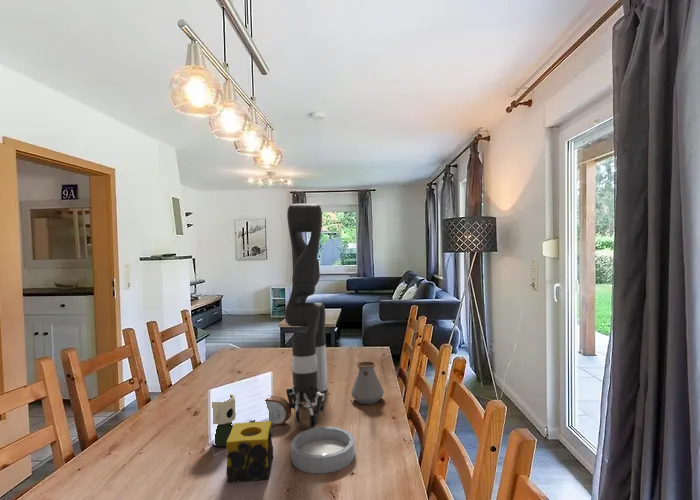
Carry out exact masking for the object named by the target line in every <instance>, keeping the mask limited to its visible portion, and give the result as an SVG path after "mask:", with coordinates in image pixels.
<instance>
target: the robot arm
mask: <svg viewBox="0 0 700 500" xmlns="http://www.w3.org/2000/svg"><path fill="white" fill-rule="evenodd" d="M286 215H287V224H288V231H289V238H290V242H291V243H290V244H291V251H292V255H291V256H292V288H291V292H290V297H289V300H288V302H287V305H286V309H285V312H284V320H285V322H286V324H287V325H288V326H289V327H300V328H307V329H306V331H304V332H302V333H301V332H300V333H297V334H295V335H293V337H292V339H291V346H292V347H291V349H292V350H291V351H292V359H291V365H292V366H291V369H292V371H291V372H292V385H293V386H291V387H289V388H287V389H286V391H285V393H286V397H287V401H288V403H289V404H290V408H291V409H293V410H294V411H295V420H296V423H297V424H298V425H299V407H300V406H303V405H307V407H308V408H309V410H310V414H311V415H310V426H311V427H315V428H316V427H317V425H318V423H319V422H318V421H319V419H318V415H319V414H321V413H322V412H323V411H324V409H325V403H326V398H327V394H326V393H323V392H325V391H327V390H328V370H327V346H326V345H327V342H326V341H327V340H326V308H325V305H324V303H323V302H307V299H308V297H310V296H313V295H314V294H315V292H316V286H317V284H318V283H319V281H320V278H321V277H320V276H321V274H320V261H319V259H318V254H319V247H320V243H321V242H320V241H321V236H322V235H321V234H322V225H323V212H322V208H321V205H320V204H317V203H292V204H290V205H289V206H288V209H287V213H286ZM301 233H310V238H309V240H308V242H307V243H306V241H305V240H304V239H303V236H302V234H301ZM313 408H314V409H313Z"/></svg>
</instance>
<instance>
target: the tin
mask: <svg viewBox="0 0 700 500" xmlns="http://www.w3.org/2000/svg"><path fill="white" fill-rule="evenodd" d="M270 396H271V397H270V398H267V399H266V400H265V401H266V404H267V408H268V410H269V421H271V422H272V424H274V425H273V426H282V425H284V424H285V423H287V422H288V420H289V419H291V416H292V408H290V404H289V400H288V399H285V398H284V397H282V396H277V395H270Z"/></svg>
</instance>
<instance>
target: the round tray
mask: <svg viewBox="0 0 700 500" xmlns="http://www.w3.org/2000/svg"><path fill="white" fill-rule="evenodd" d="M355 446H356V443H355V438H354V435H353V434H352V433H351V432H349V431H348V430H347V429H344V428H341V427H336V426H319V427H317V426H316V427H315V428H312V429H309V430H306V431H301V432H299V433H298V434H296V435H294V437H293V439H292V440H291V441H290V453H291V457H290V458H291V463H292V465H293V466H294V467H296V468H297V469H298V470H299V471H303V472H305V473H309V474H328V473H333V472H337V471H339V470H342V469H344V468H347V467H348V465H350V464H351V463H352V462H353V461H354V459H355V455H356V447H355Z"/></svg>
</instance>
